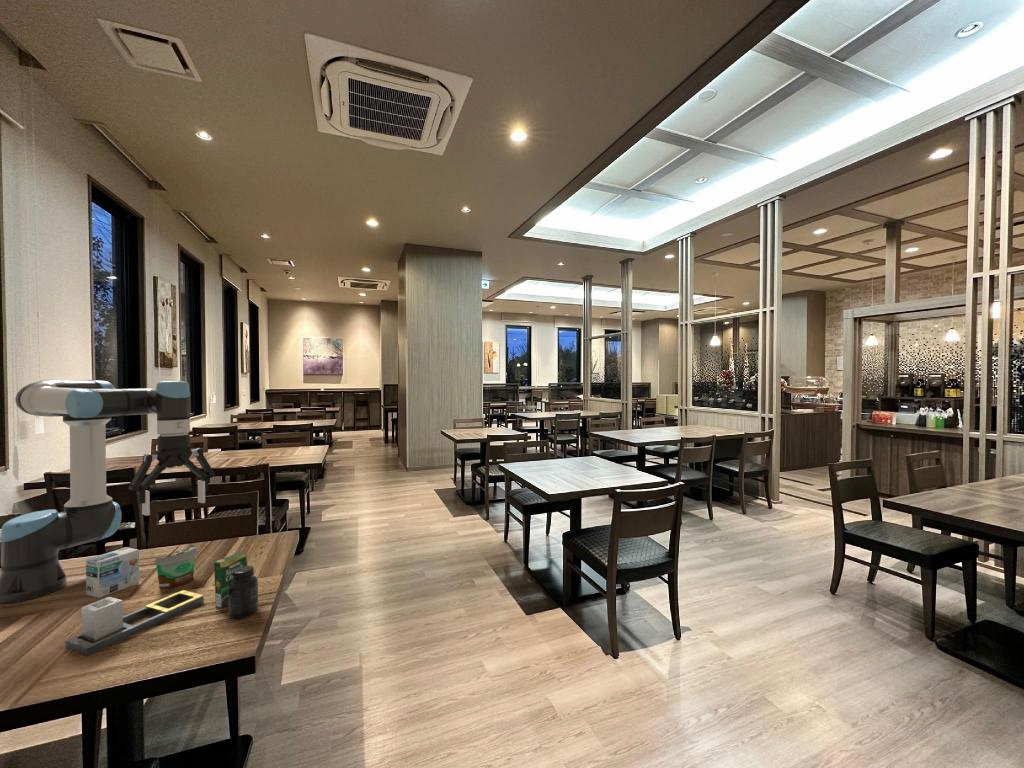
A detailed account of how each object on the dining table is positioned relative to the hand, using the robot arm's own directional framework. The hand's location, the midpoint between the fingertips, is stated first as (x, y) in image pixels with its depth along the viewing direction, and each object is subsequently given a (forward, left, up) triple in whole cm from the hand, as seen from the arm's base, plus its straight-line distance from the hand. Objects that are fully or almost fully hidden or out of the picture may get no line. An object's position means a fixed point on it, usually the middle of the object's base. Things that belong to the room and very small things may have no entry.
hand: (175, 508), depth 124 cm
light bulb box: (-28, -1, -27) cm, 39 cm away
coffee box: (+15, +6, -27) cm, 32 cm away
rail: (+3, -10, -27) cm, 29 cm away
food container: (-12, +9, -27) cm, 31 cm away
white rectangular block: (+3, -18, -27) cm, 33 cm away
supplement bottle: (+24, +3, -27) cm, 37 cm away
